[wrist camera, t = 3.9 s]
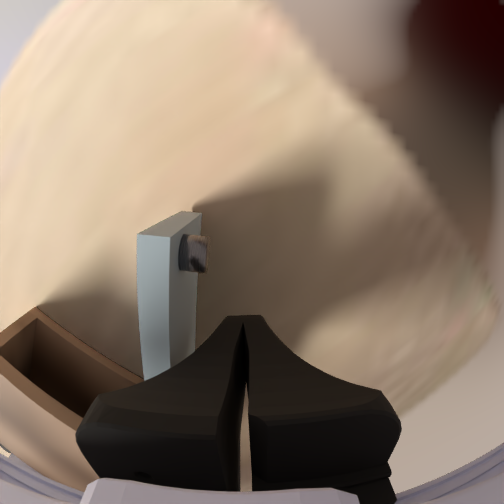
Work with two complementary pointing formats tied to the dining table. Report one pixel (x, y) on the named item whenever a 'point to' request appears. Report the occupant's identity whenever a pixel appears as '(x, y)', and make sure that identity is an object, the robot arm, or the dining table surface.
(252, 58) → the dining table surface
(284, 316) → the dining table surface
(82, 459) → the cabinet
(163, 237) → the door
